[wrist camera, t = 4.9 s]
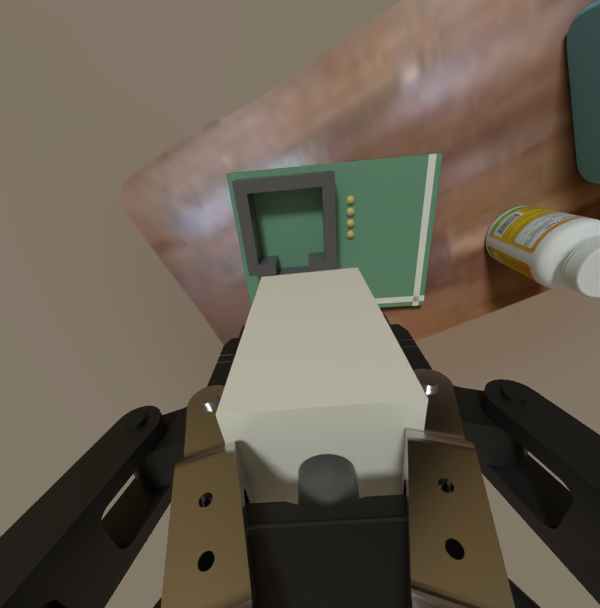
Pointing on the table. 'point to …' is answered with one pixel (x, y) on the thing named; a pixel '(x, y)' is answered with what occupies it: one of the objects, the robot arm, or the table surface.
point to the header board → (355, 222)
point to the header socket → (288, 182)
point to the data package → (586, 89)
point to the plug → (320, 393)
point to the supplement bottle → (549, 247)
